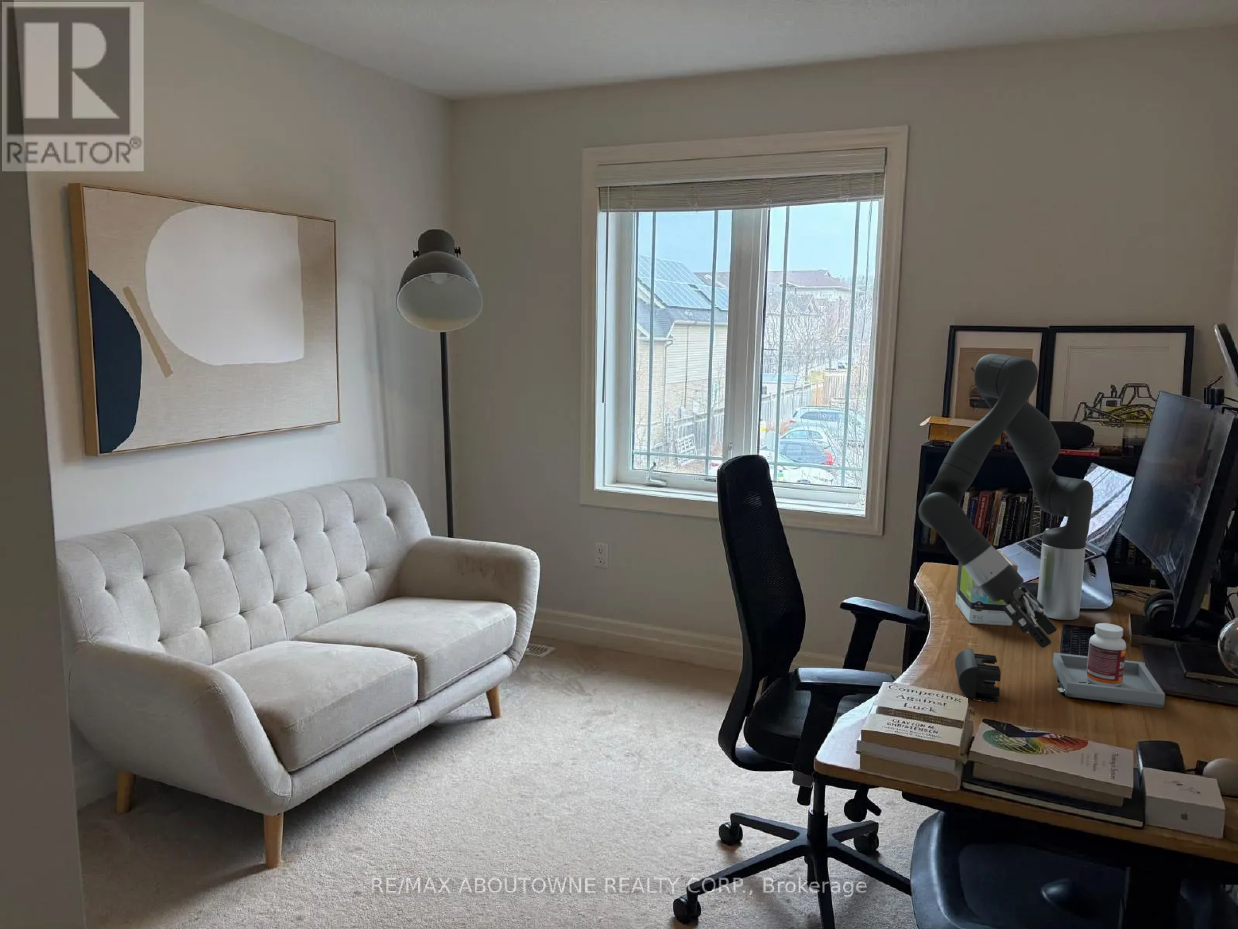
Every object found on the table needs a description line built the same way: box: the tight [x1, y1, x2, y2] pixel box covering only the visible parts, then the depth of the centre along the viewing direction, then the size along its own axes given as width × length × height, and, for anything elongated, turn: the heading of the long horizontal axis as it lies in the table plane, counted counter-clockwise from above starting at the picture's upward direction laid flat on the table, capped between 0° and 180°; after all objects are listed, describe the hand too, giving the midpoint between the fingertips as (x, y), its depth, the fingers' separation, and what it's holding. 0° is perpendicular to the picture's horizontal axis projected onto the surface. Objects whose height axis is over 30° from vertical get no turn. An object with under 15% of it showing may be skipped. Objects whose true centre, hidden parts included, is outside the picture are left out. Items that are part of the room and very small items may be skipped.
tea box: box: [955, 549, 1019, 627], centre depth 207 cm, size 15×10×15 cm
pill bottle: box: [1086, 622, 1127, 687], centre depth 167 cm, size 6×6×11 cm
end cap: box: [954, 648, 1002, 704], centre depth 164 cm, size 10×7×7 cm
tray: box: [1052, 652, 1166, 709], centre depth 168 cm, size 16×16×3 cm
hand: (1050, 638), depth 172 cm, fingers open, 8 cm apart
